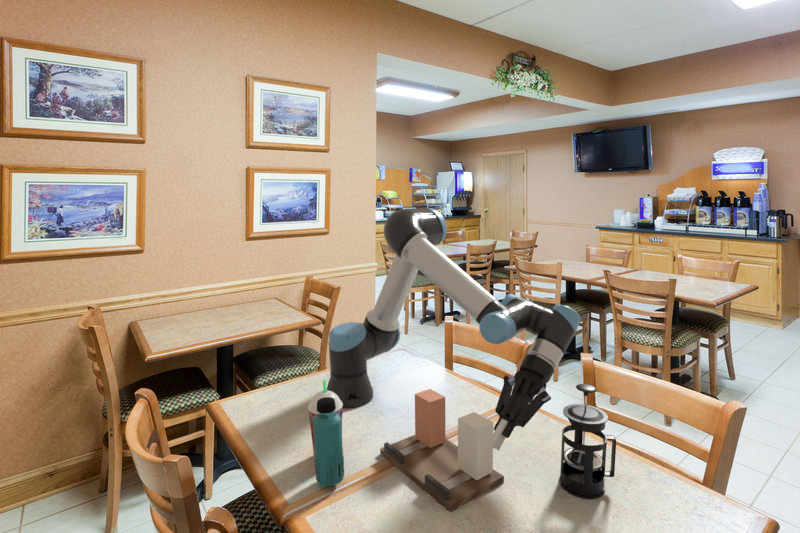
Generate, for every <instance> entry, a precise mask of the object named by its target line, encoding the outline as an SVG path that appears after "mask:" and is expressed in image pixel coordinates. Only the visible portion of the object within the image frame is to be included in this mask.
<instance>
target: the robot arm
mask: <svg viewBox="0 0 800 533" xmlns="http://www.w3.org/2000/svg"><path fill="white" fill-rule="evenodd" d="M447 227H448V226H447V223H446V220H445V217H444V215H443V214H442V213H440V212H439V211H438V210H437V209H435V208H432V207H424V206H423V207H419V208H401V209H397V210H395V211H394V212H391V213H390V215H389V216H388V217H387V218H386V220H385V223H384V225H383V235H384V236H383V237H384V240H385V241H386V244H387V246H388V247H389V248H390V249H391V251H392V252H393V253H394V254H395V255H394V257H393V260H392V263H391V264H390V265H391V266H390V267H389V271H388V272H387V275H386V278H385V280H384V282H383V285H382V288H381V290H380V293H379V295H378V298H377V300H376V302H375V305H374V307H373V308H372V309H370V310H368V311H367V313H366V316H365V318H364V320H363V322H358V321H357V322H356V321H349V322H347V323H346V322H345V323H341V324H338V325H336V326H334V327H333V328H332V329H331V330H330V331H329V335H328V350H329V352H328V353H329V366H330V367H329V371H330V376H329V380H328V383H327V385H326V390H329V391H332V392H334V393H335V394H337V395H338V397H339V398H340V400H341V401H342V403H343V409H347V408H351V409H352V408H357V407H361V406H364V405H366V404H368V403H369V402H371V401H372V400H373V398H374V388H373V386H372V383H371V381H370V378H369V374H368V363H367V362H368V360H371V359H373V358H375V357H377V356H380V355H382V354H384V353H388V352H390V351H391V350H392V349H394V348H395V347H396V346H397V345H398V343H399V342H400V339H401V331H400V329H401V328H400V321H399V316H400V314H401V312H402V310H403V308H404V305H405V303H406V299H407V298H408V295H409V293H410V291H411V289H412V287H413V284H414V282H415V279H416V277H417V274H418V272H419V271H420V272H421V274H423V276H425V277H426V278H427V279H428V280H430V282H432V283H433V284H434V285H435V286H436V287H437V288H438V289H439V290H441V292H443V293H444V294H445V295H446V296H447V297H448V298H450V299H451V300H452V302H454V303H455V304H456V305H457V306H458V307H459V308H460V309H461V310H463V311H464V312H465V313H466V314H467V315H469V316H470V317H471V318H472V319H473V320H474V321H475V322H476V323H477V324H479V326H478V327H479V333H480V334H481V336H482V338H483V339H484V341H486V342H487V343H490V344H492V345H500V344H503V343H505V342H508V341H510V340H511V339H513V338H514V337H515V336H517V335H518V334H521V332H524V331H525V332H528V333H530V334H533V335H534V336H536V337H535V339H534V341H533V342H532V344H531V346H530V348H529V349H528V351H527V353H528V354H526V355H525V356H524V359H523V360H522V361H521V364H520V365H519V370H518V371H517V372H516V373H515V374H514V375H513V376H508V375H504V376H503V385H502V388H501V391H500V395H499V397H498V401H497V404H496V407H495V412H496V414H497V415H498V417H499V418H498V420H497V422H496V424H495V425H494V426H493V449H495V450H496V451H500V449H501V447H502V446H503V443H504V441H505V440H506V438H507V439H509V438H510V436H512V433H513V431H514V430H515V428H516V427H521V428H524V427H525V426H526V425H527V424H528V423H529V422H530V421H531V419H532V418H533V417H534V416H535V415H536V414H537V412H538V411H539V410H540V409H541V408H542V407H543V406H544V405H545V404H546V403H548V402H549V401H551V400H552V397H551V396H550V394H549V393H548V392H547V390H546V389H547V384H548V383H549V382H550V380H551V379H552V376H553V375H554V372H555V369H556V368H558V365H559V364H560V362H561V360H562V358H563V357H564V354H565V352H566V350H567V349H568V347H569V345H570V344H571V341H572V340H573V338H574V337H575V335H576V332H577V330H578V328H579V326H580V324H581V322H582V319H581V315H580V314H579V313H578V312H577V311H576V310H575V309H573V308H572V307H570V306H569V305H562V304H555V305H554V306H553V307H552V308H551V309H549V308H546V307H544V306H542V305H539V304H537V303H534V302H532V301H530V300H528V299H525V298H524V297H523V296H518V295H515V294H513V293H508V294H506V295H505V296H504V297H503V299H502V300H501V302H500V301H499V300H498V299H497V298H495V296H493V295H492V294H491V293H490V292H489V291H487V289H485V288H484V287H483V286H482V285H481V284H479V283H478V282H477V281H476V280H474V278H472V277H471V276H470V275H469V274H468V273H467V272H465V271H464V270H463V269H462V268H461V267H460V266H459V265H457V264H456V263H455V262H454V261H452V260H451V259H450V258H449V257H448V256H447V255H446V254H444V253H443V252H442V251H441V250H440V249H439V248H437V247H436V246H437V245H440V243H442V242H443V241H444V239H445V238H446V236H447V231H448V228H447Z"/></svg>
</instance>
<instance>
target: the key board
mask: <svg viewBox="0 0 800 533" xmlns="http://www.w3.org/2000/svg"><path fill="white" fill-rule="evenodd" d="M379 450H380V453H379V454H380V455H381V456H382V457H383V458H384V459H386V460H387V461H388V462H389V463H390V464H391V465H393V466H394V467H395V468H396V469H398V470H399V471H400V472H401V473H402V474H404V475H405V476H406V477H407V478H409V480H411V481H412V482H413V483H415V484H416V485H417V486H418V487H419V488H421V490H423V491H424V492H426V494H428V495H429V496H430V497H431V498H433V499H434V500H435V501H436V502H437V503H439V505H441V506H442V507H444V508H445V509H446V510H447V511H448V512H449V513H451V512H454V511H455V510H456V509H459V508H460V507H462V506H464V505H466V504H467V503H469V502H471V501H473V500H475V499H476V498H478V497H480V496H482V495H484V494H485V493H487V492H489V491H491V490H493V489H494V488H496V487H498V486H500V485H502V484H503V483H504V482H505V476H504V475H503V474H501V473H500V472H498V471H497V470H495V469H493V472H492V473H490V474H488V475H486V476H484V477H482V478H481V479H479V480H475V479H474V478H472V477H471V476H469V475H468V474H467V473H465V472H464V471H462V470H461V469H459V468H458V445H456V444H455V443H454V442H451V440H448V439H447V438H445V442H443V443H441V444H439V445H436V446H434V447H432V448H429V447H428V446H426V445H425V444H423V443H422V442H421V441H419V440H418V439H416V438H415V434H413V435H411V436H409V437H406V438H404V439H401V440H398V441H396V442H394V443H389V442H387V441H386V442H384V443H383V447H381V448H380V449H379Z"/></svg>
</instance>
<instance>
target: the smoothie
mask: <svg viewBox="0 0 800 533" xmlns="http://www.w3.org/2000/svg"><path fill="white" fill-rule="evenodd" d="M322 382H323V383H322V388H323V390H321V391H318V392H317V393H315V394H314V395H313V397H312V398H311V400H310V402H309V404H308V406H307V408H308V409H307V410H308V416H309V417H308V418H309V426H310V435H311V443H312V452H313V456H314V457H315V454H314V433H313V419H314V417H315V416H316V415H317V414H319V412H317V401H318V400H319V399H321V398H324V397H331V398H333V399H334V400H335V405H336V409H335V410H334V412H336V413H337V414H339V415H340V416H341V430H342V431H343V409H344V408H343V403H342V401H341V400H340V398H339V397H338V395H337V394H335V393H334V392H332V391H329V390H327V383H326V382H327V380H326V379H325V380H324V379H323V380H322Z"/></svg>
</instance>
